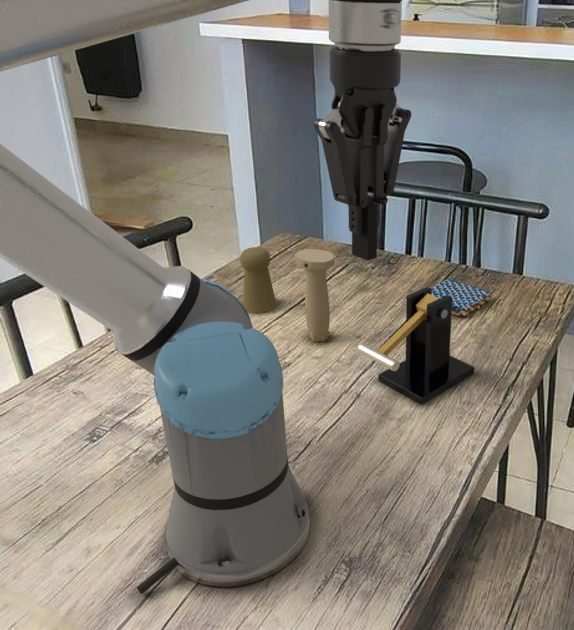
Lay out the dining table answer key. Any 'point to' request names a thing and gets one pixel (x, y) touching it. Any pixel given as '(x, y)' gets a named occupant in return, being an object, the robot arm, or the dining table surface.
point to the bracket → (427, 353)
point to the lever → (397, 336)
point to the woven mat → (461, 296)
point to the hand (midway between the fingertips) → (364, 255)
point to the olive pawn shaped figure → (257, 281)
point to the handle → (316, 290)
